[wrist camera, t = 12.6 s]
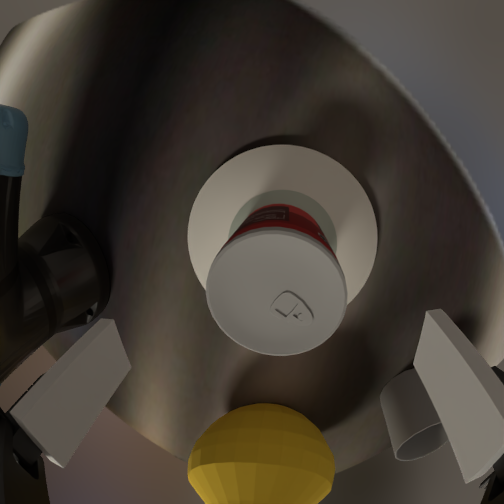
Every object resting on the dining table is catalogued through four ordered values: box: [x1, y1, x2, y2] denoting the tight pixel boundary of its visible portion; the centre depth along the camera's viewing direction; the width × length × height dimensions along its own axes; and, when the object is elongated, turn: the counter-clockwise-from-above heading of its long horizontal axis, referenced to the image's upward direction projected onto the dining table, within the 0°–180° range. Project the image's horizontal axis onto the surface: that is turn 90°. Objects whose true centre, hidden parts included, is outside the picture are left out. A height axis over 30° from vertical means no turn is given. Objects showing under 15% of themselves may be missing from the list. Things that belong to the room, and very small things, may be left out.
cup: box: [380, 368, 449, 461], centre depth 25 cm, size 8×8×10 cm
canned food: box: [206, 204, 348, 356], centre depth 20 cm, size 8×8×11 cm
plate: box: [188, 145, 377, 305], centre depth 26 cm, size 18×18×1 cm
